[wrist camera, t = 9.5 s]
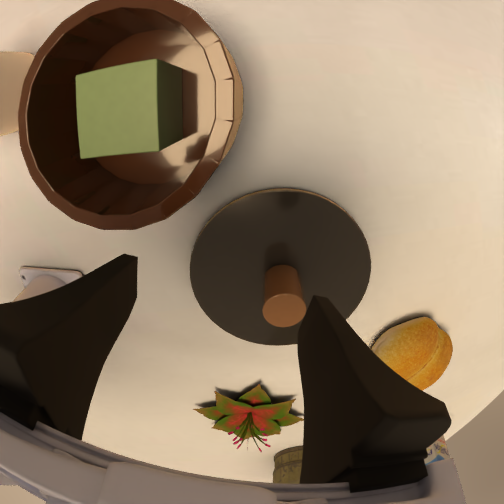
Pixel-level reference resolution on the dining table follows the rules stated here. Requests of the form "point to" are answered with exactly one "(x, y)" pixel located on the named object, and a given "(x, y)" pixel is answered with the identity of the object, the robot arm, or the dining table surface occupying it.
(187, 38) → the pot
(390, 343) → the bread roll
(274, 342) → the lid
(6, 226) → the dining table surface
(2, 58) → the can
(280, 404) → the lily flower
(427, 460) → the medicine box
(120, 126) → the block
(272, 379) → the dining table surface
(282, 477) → the thermos
